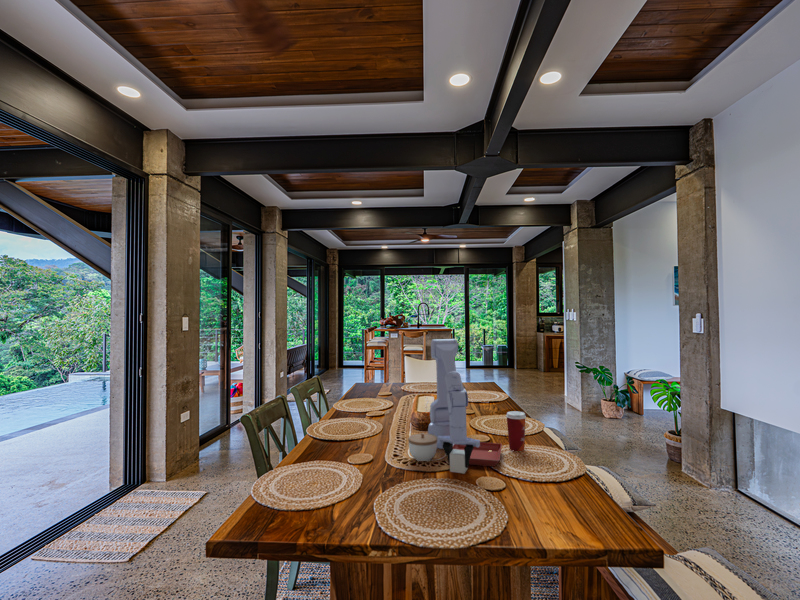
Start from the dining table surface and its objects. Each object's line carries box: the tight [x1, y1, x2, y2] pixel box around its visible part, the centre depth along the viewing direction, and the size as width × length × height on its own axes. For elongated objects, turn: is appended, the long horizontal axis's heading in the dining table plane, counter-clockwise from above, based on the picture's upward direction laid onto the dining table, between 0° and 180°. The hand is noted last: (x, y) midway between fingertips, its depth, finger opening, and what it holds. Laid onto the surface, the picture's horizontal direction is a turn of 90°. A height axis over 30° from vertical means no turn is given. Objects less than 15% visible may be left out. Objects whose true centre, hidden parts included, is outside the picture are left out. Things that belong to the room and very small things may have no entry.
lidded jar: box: [407, 432, 438, 462], centre depth 148 cm, size 11×11×9 cm
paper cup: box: [505, 410, 527, 452], centre depth 156 cm, size 8×8×14 cm
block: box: [449, 449, 469, 475], centre depth 137 cm, size 5×5×6 cm
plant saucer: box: [453, 441, 503, 467], centre depth 148 cm, size 18×18×3 cm
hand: (458, 465), depth 137 cm, fingers closed on block, 5 cm apart
